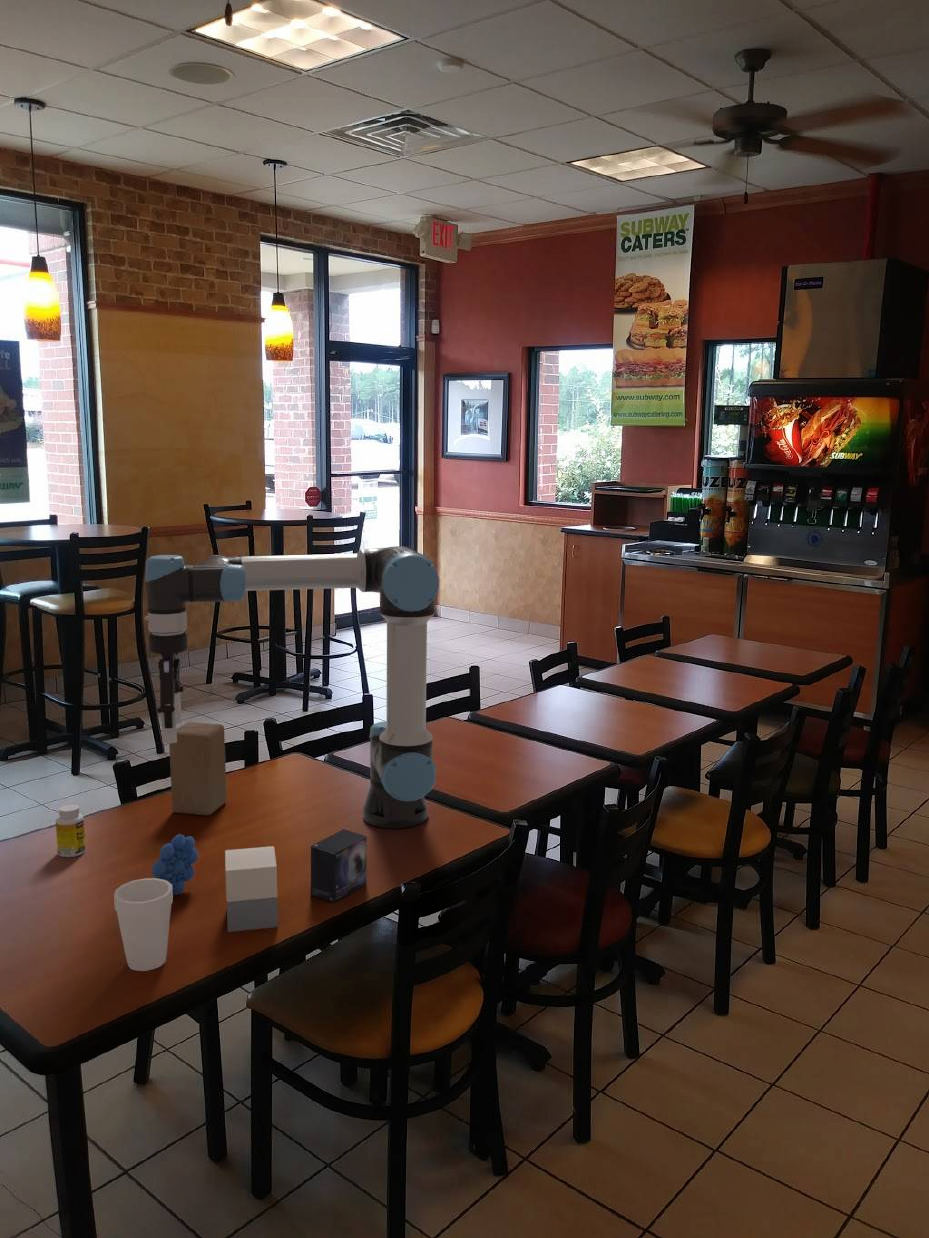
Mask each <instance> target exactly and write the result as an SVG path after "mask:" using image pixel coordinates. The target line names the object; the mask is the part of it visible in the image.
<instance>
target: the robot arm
mask: <svg viewBox="0 0 929 1238" xmlns="http://www.w3.org/2000/svg"><path fill="white" fill-rule="evenodd" d="M439 588H440V578H439V573H438V570H437V569H436V567H435V565H434V563H433V562H432V561H431V560H430V559H429V558H428V556H425V555H424V554H422V553H421V552H417V550H415V549H413V548H411V547H408V546H402V545H399V546H397V545H396V546H387V547H377V548H376V547H375V548H361V549H359V550H358V551H357V552H356V553H344V554H343V553H339V554H338V553H337V554H336V553H335V554H331V553H330V554H297V555H296V554H294V555H292V554H291V555H289V554H288V555H287V554H286V555H251V556H225V555H222V554H214V555H210V556H209V557H207V558H205V559H204V560H203V561H202V562H201V564H200V565H192V564H190V565H189V564H186V562H185V560H184V557H183V556H182V555H177V554H159V555H152V556H149V558H147V559H146V560H145V593H146V595H145V596H146V608H147V616H144V621H146V622H148V624H147V626H148V628H147V629H148V631H149V632H150V633H149V634H148V650H149V651H150V653H152V654H156V655H157V654H158V655H161V658H159V661H158V665H157V666H158V670H159V676H158V677H159V682H160V683H159V684H160V685H159V687H160V688H159V691H160V692H159V695H160V696H159V697H160V698H159V699H160V700H159V701H160V702H159V703H160V704H159V705H160V707H158V708H156V711H157V713H158V714H159V713H160V716H161V735H162V736H161V737H162V740H161V741H162V745H164V744H169V743H177V732H176V729H177V724H182V723H183V720H182V705H181V703H182V701H181V698H182V697H181V693H184V686H182V683H181V679H180V676H181V675H180V669H181V668H180V665H181V663H180V662H181V659H180V658H179V656H178V654H180V653H184V652H185V651H187V649H188V646H189V645H188V633H187V632H186V631H187V629H188V615H187V606H186V605H187V603H216V602H217V603H219V602H220V603H223V602H225V603H231V602H239V601H240V602H241V601H244V600H245V599H246V595H247V594H246V592H251V591H284V590H285V591H287V590H289V591H291V590H320V589H321V590H325V589H326V590H327V589H358V590H360V591H361V593H379V615H380V616H381V617H382V618H383V619H384V620H385V621H386V720H384V721H379V722H376V723H374V724H372V725H371V726H370V730H369V731H370V732H369V736H368V737H369V741H370V742H369V744H370V745H369V748H370V749H369V751H370V752H369V756H370V758H369V760H370V767H369V769H370V770H369V771H370V773H369V774H370V775H369V776H370V778H369V779H370V786H369V789H368V792H367V795H366V799H365V801H364V805H363V808H362V815H363V816H362V818H363V820H364V821H365V822H366V823H367V824H369V825H371V826H374V827H377V828H382V829H390V830H391V829H394V830H395V829H397V830H398V829H404V828H405V829H407V828H411V827H414V826H415V827H416V826H418V825H420V824H423V823H424V822H425V821H426V820H427V818H428V805H427V802H426V800H425V796H426V795H428V794H429V793H430V792H431V791H432V789H433V788H434V787H435V783H436V781H437V769H436V764H435V763H434V761H433V734H432V733H431V732H430V731H428V730H427V728H426V727H427V726H426V725H427V724H426V723H427V659H428V657H427V655H428V653H427V652H428V651H427V650H428V648H427V647H428V646H427V645H428V644H427V643H428V641H427V640H428V621H430V620H431V619H432V618H433V616H435V600H436V597H437V595H438V593H439Z"/></svg>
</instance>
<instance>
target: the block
mask: <svg viewBox="0 0 929 1238" xmlns="http://www.w3.org/2000/svg"><path fill="white" fill-rule="evenodd" d="M176 732H177V743H168V744H169V745H168V746H169V764H170V765H169V766H170V767H169V768H170V787H171V788H170V789H171V806H172V807H171V809H172V812H174V813H177V814H186V815H197V816H211V815H213V813H215V812H216V811H217V810H218V809H219V808H221V807H222V806H223V805H224V804H226V801H227V799H228V797H227V773H226V770H227V769H226V745H225V744H226V743H225V726H224V724H221V723H211V722H210V723H209V722H208V723H207V722H195V721H188V722H186V723H184V724H182V725H180V726H179V727H178V728H177V727H176Z"/></svg>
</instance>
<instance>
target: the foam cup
mask: <svg viewBox="0 0 929 1238" xmlns="http://www.w3.org/2000/svg"><path fill="white" fill-rule="evenodd" d="M173 898H174V895H173V890H172V884H171V883H169V882H168V881H167V880H162V879H158V878H156V877H154V878H153V877H152V878H151V877H149V878H147V877H145V878H139V879H135V880H130V881H127V882H126V883H123V884H121V885H120V886H119V887H118V888H116V889H115V890H114V895H113V900H114V901H113V902H114V903H113V905H114V910H115V912H116V915H117V920H118V925H119V926H118V927H119V930H120V935H121V939H122V944H123V949H124V954H125V959H126V963H127V967H129V968H130V970H132V971H137V972H147V971H150V970H157V968H159V967H162V966H163V965H164V964H165V963H166V962H167V955H168V954H167V953H168V943H169V933H170V923H171V921H170V920H171V911H172V904H173V903H174V902H173Z"/></svg>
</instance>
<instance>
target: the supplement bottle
mask: <svg viewBox="0 0 929 1238" xmlns="http://www.w3.org/2000/svg"><path fill="white" fill-rule="evenodd" d="M55 830H56V845H57V846H56V847H57V854H58V856H60V857H62V858H74V857H78V856H81V855H82V854H84V852H85V851H86V837H85V835H86V833H85V819H84V815H83V814H82V813H80V806H79V805H77V804H65V805H63V806H61V807H59V809H58V816H57V817H56V818H55Z"/></svg>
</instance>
